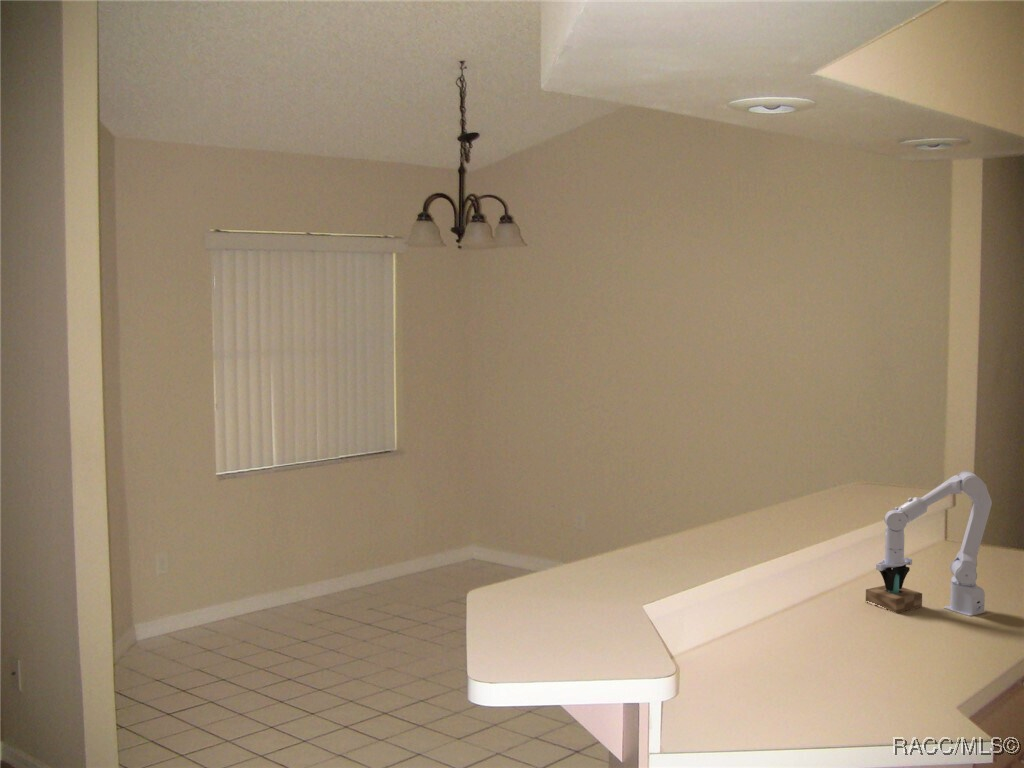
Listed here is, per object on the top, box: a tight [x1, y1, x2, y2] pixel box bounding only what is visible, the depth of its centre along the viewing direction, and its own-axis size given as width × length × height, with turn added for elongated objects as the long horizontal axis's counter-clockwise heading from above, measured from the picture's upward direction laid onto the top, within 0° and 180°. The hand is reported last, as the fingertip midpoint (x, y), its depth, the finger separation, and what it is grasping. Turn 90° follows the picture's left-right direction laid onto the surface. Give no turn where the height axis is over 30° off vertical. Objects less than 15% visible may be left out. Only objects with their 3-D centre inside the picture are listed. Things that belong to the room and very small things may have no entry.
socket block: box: [865, 584, 923, 614], centre depth 304 cm, size 12×12×4 cm
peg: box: [888, 574, 899, 594], centre depth 304 cm, size 3×3×9 cm
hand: (893, 589), depth 304 cm, fingers open, 4 cm apart
